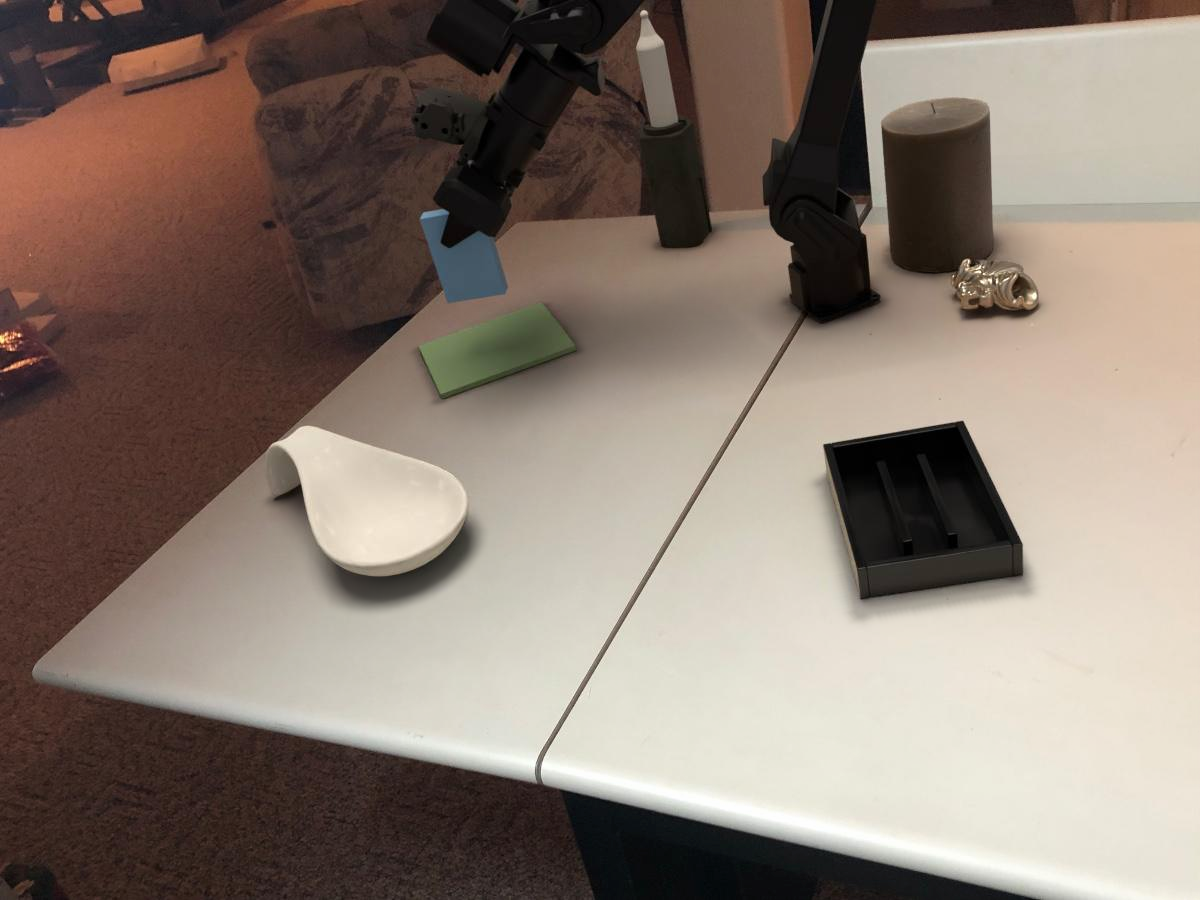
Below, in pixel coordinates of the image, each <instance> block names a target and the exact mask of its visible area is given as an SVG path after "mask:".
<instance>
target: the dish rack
mask: <svg viewBox="0 0 1200 900" xmlns="http://www.w3.org/2000/svg"><path fill="white" fill-rule="evenodd" d="M966 425H967V424H965V421H964V420H957V421H952V422H947V423H941V424H936V425H929V426H923V427H917V428H910V429H905V430H899V431H893V432H888V433H882V434H876V435H870V436H863V437H858V438H852V439H846V440H841V441H833V442H828V443H823V444H822V448H823V456H824V464H825V470H826V471H825V472H826V475H827V479H828V484H829V486H830V490H831V494H832V498H833V502H834V506H835V509H836V513H837V517H838V520H839V524H840V529H841V532H842V535H843V539H844V543H845V546H846V550H847V554H848V558H849V562H850V566H851V569H852V572H853V577H854V580H855V584H856V588H857V592H858V595H859V600H867V599H868V600H869V599H873V598H881V597H887V596H893V595H894V596H895V595H900V594H907V593H914V592H922V591H928V590H934V589H941V588H948V587H954V586H961V585H968V584H976V583H981V582H988V581H995V580H1001V579H1008V578H1015V577H1022V576H1024V544H1023V541H1022V540H1021V537H1020V535H1019V532H1018V530H1017V529H1016V527H1015V525H1014V523H1013V521H1012V519H1011V516H1010V514H1009V512H1008V510H1007V508H1006V506H1005V504H1004V502H1003V500H1002V497H1001V495H1000V494H999V492H998V489H997V488H996V486H995V483H994V481H993V479H992V477H991V475H990V473H989V470H988V468H987V467H986V465H985V463H984V460H983V458H982V456H981V455H980V452H979V449H978V447H977V445H976V444H975V441H974V439H973V437H972V436H971V434H970V431H969V429H968V427H967V426H966Z"/></svg>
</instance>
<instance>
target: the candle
mask: <svg viewBox="0 0 1200 900" xmlns="http://www.w3.org/2000/svg"><path fill="white" fill-rule="evenodd" d="M639 17H640V18H641V22H640V34H639V35H640V36H639V39H638V41H637V44H636V47H635V50H636V51H635V52H636V55H637V61H638V65H639V70H640V76H641V80H642V85H643V90H644V91H643V92H644V95H645V101H646V105H647V111H648V116H649V120H648V121H647V122H646V124H644V125H643V131H642V132H641V133H640V134H639V135H638V140H639V145H640V151H641V156H642V161H643V165H644V169H645V175H646V181H647V185H648V189H649V193H650V198H651V199H650V200H651V204H652V209H653V214H654V218H655V219H654V220H655V223H656V224H655V225H656V229H657V232H658V233H657V234H658V239H659V243H660V246H661V247H662V248H694V247H698V246H700V245H701V244H703V243H704V240H705V238H706V237H707V236H708V234H710V233H712V231H713V227H712V221H711V214H710V210H709V203H708V198H707V197H708V196H707V192H706V187H705V181H704V175H703V170H702V163H701V157H700V153H699V148H698V141H697V136H696V130H695V125H694V120H693V119H691V118H686V115H683V114H678V111H677V106H676V101H675V95H674V90H673V89H674V88H673V84H672V78H671V73H670V67H669V63H668V56H667V52H666V46H665V42H664V39H662V38H661V37H660V36H659V35H658V33H657V32H656V30H655V28H654V27H653V25H652V23H651V20H650V19H649V12H648V11H647V10H645V9H643V10H641V11H640V13H639Z"/></svg>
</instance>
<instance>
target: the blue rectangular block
mask: <svg viewBox="0 0 1200 900" xmlns="http://www.w3.org/2000/svg"><path fill="white" fill-rule="evenodd" d="M448 215H449V212H448V211H446V210H444V209H443V208H441V209H440V208H439V209H437V210H436V209H435V210H431V211H430V210H429V211H425V212H423V213H422V214H421V216H420V218H419V222H420V225H421V227H422V230H423V234H424V236H425V239H426V243H427V246H428V249H429V251H430V255H431V258H432V260H433V263H434V266H435V270H436V273H437V276H438V278H439V282H440V285H441V287H442V290H443V294H444V296H445V299H446V302H447V304H453V303H457V302H465V301H471V300H477V299H484V298H489V297H497V296H501V295H502V296H503V295H506V293H507V291H508V288H509V285H508V281H507V279H506V275H505V272H504V268H503V265H502V262H501V259H500V254H499V251H498V248H497V245H496V241H495V237H488V236H487V235H485V234H483V233H482V232H480V231H478V232H476V233H474V234H473V235H471V236H469V237H468V238H466V239H465V240H463V241H461V242H460V243H458V244H457V245H455V246H453V247H452V248H447V247H446V246H444V245H442V244H441V242H440V241H441V238H442V235H443V231H444V228H445V225H446V221H447V218H448Z"/></svg>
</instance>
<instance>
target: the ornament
mask: <svg viewBox="0 0 1200 900" xmlns="http://www.w3.org/2000/svg"><path fill="white" fill-rule="evenodd" d="M970 264H971V260H970V259H965V260H963V261H962V263H961V265H960V267H959V269H957V271H956V273H955V274H952V275H951V276H950V279H951V287H952V288H953V289H955V290H956V296H957V298H958V299H960V305H961V308H962V309H963V310H976V309H978V308H979V306H981V307H983V308H985V309H988V308H992V307H993V305H994V304H995V305H996V306H997V307H999V308H1001V309H1002V310H1005V311H1020V310H1027V311H1028V310H1033V309H1035V308H1036V307H1037V304H1038V302H1039V298H1040V294H1039V289H1038V288H1037V285H1036V283H1035V282H1034V279H1032V277H1031V276H1029V275H1028V274H1027V273H1026V272H1024V267H1023V265H1021V264H1020V263H1017V262H1014V261H1010V260H1007V259H1004V260H995V259H994V260H991V261H987V260H985V259H980V260H976V261H975V264H974V265H973V266H971V265H970ZM1015 295H1016V296H1017V295H1018V297H1017V298H1016V297H1014V296H1015Z"/></svg>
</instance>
